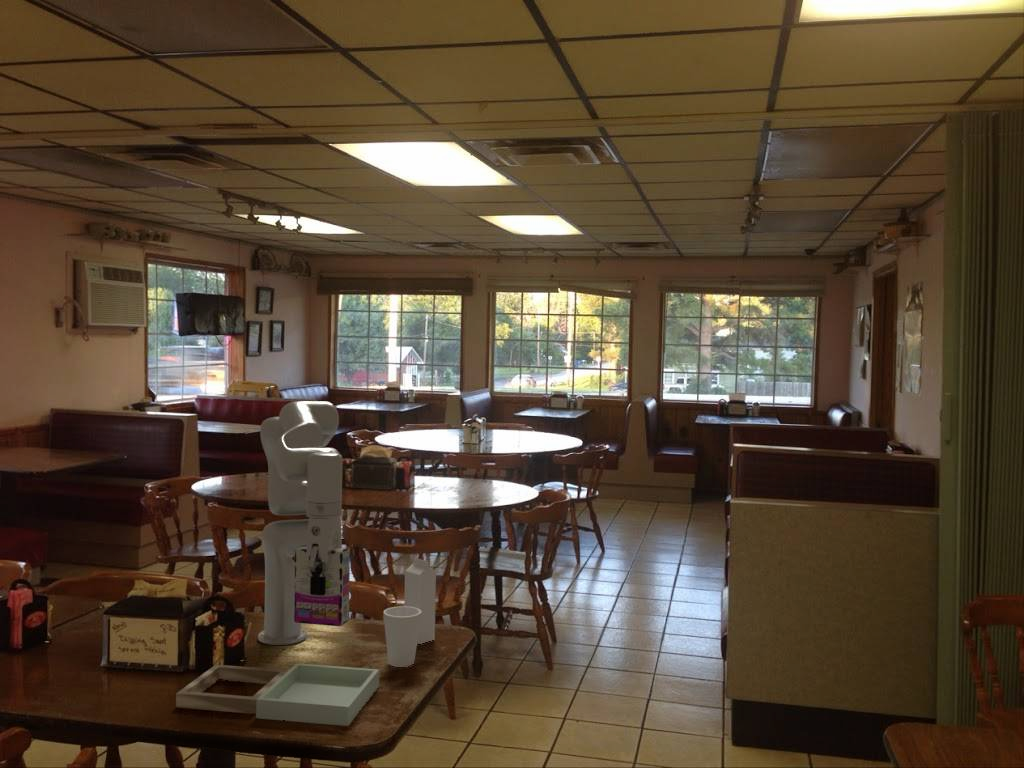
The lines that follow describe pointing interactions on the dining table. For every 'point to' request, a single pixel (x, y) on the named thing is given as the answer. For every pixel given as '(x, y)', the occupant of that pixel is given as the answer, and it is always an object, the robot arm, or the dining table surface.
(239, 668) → the frame
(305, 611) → the candy bar box
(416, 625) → the foam cup
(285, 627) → the robot arm
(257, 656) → the dining table surface
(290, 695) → the green tray
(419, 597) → the milk
